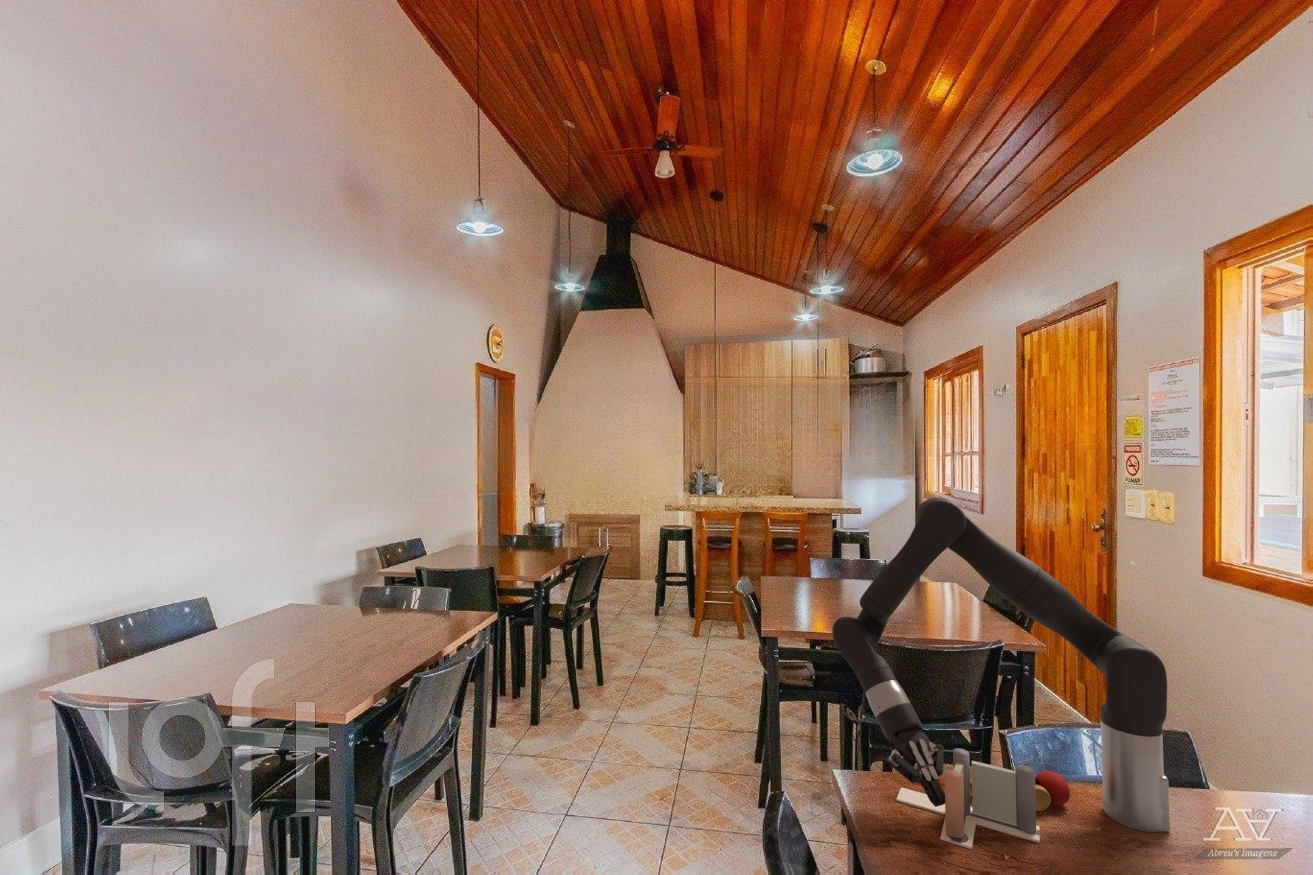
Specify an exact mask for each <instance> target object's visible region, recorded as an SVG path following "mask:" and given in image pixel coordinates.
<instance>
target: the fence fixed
mask: <svg viewBox="0 0 1313 875" xmlns="http://www.w3.org/2000/svg"><path fill="white" fill-rule="evenodd" d="M952 751H953V752H952V759H953V761H952V763H953V769H952V770H954V768H955V765H956V762H957V763H961V764H963V765H964V815H966V816H967V815H969V814H970V807H972V813H976V814H979V815H983V816H986V817H990V818H993V819H997V820H1000V821H1004V822H1007V823H1011V824H1014V825H1017V826H1018V828H1020V829H1021V830H1023V831H1026V832H1036V825H1037V813H1036V812H1037V811H1036V800H1035V777H1036V772H1035V769H1033V768H1032V767H1030V766H1027V765H1022V764H1018V765H1016V766H1015V769H1016V771H1013V770H1014V769H1013V770H1012V769H1008V768H1005V767H1004V768H1003V767H1000V766H997V765H993V764H992V765H991V764H988V763H983V762H980V761H975V760H971V763H970V752H969V751H968V750H966V749H964V748H953V749H952ZM970 764H971V767H970ZM970 770H971V771H970ZM970 772H971V773H970ZM970 783H972V793H971V790H970ZM971 801H972V803H971ZM971 805H972V806H971Z"/></svg>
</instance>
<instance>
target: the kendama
mask: <svg viewBox="0 0 1313 875" xmlns="http://www.w3.org/2000/svg"><path fill="white" fill-rule="evenodd" d="M1013 771H1016V768H1015V769H1013ZM970 794H972V782H970ZM1070 797H1071V789H1070V786H1069V785H1068V783H1067V781H1066V780H1065V778H1064V777H1063V776H1061V774H1059V773H1056V772H1054V771H1052V770H1042V771H1040V772H1039V773H1038V774H1035V800H1036V812H1037V811H1039V812H1040V811H1041V812H1043V811H1045V810H1047V809H1048V808H1049V807H1050V806H1054V807H1060V806H1063V805H1066V804H1067V803H1068V801H1069V799H1070Z"/></svg>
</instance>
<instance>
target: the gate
mask: <svg viewBox="0 0 1313 875" xmlns="http://www.w3.org/2000/svg"><path fill="white" fill-rule="evenodd" d="M944 793H945V815H944V816H945V818H944V821H945V823H946V833H947V834H948V835H949V836H951V837H954V838H963V837H964V765H963V764H961V763H957V762H956V765H955V768H954V770H953V769H947V770H944Z"/></svg>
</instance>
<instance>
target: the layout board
mask: <svg viewBox="0 0 1313 875" xmlns="http://www.w3.org/2000/svg"><path fill="white" fill-rule="evenodd" d="M895 801H896V802H900V803H902V804H905V805H909V806H912V807H915V808H920V809H923V810H926V811H929V812H932V811H933V813H935V814H941V815H943V816H945V815H944V814H945V804H943V805H941V806H937V807H935V806H934V805H933V804H932V803H931V802H930V800H929V798H928V796H927V794H926V793H922V792H920V791H915V790H912V789H907V788H905V787H900V789H899V791H898V794H897V797H896V800H895ZM943 821H944V822H943V826H942V830H941V833H940V836H939V837H940V841H944V842H948V843H950V844H954V845H957V846H960V847H962V848H966V849H969V850H973V846H974V845H973V844H974V841H975V840H974V839H975V833H976V825H977V826H980V825H981V826H980V827H984V828H986V829H991V830H993V831H994V830H995V831H997V832H1001V833H1003V834H1006V835H1007V834H1008V835H1011V836H1014V837H1017V838H1021V839H1023V840H1024V839H1025V840H1028V841H1030V842H1031V841H1032V842H1035V843H1038V844H1039V843H1041V840H1040V837H1041V835H1040V833H1041V832H1040V826H1039V825H1037V824H1036V832H1026V831H1023V830H1021V829H1020V828H1018V826H1017V825H1014V824H1011V823H1007V822H1004V821H1000V820H997V819H993V818H990V817H986V816H983V815H979V814H976V813H972V806H970V814H969V815H967V816H966V815H964V837H963V838H954V837H951V836H949V835H948V834H947V833H946V823H945V820H943Z"/></svg>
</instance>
